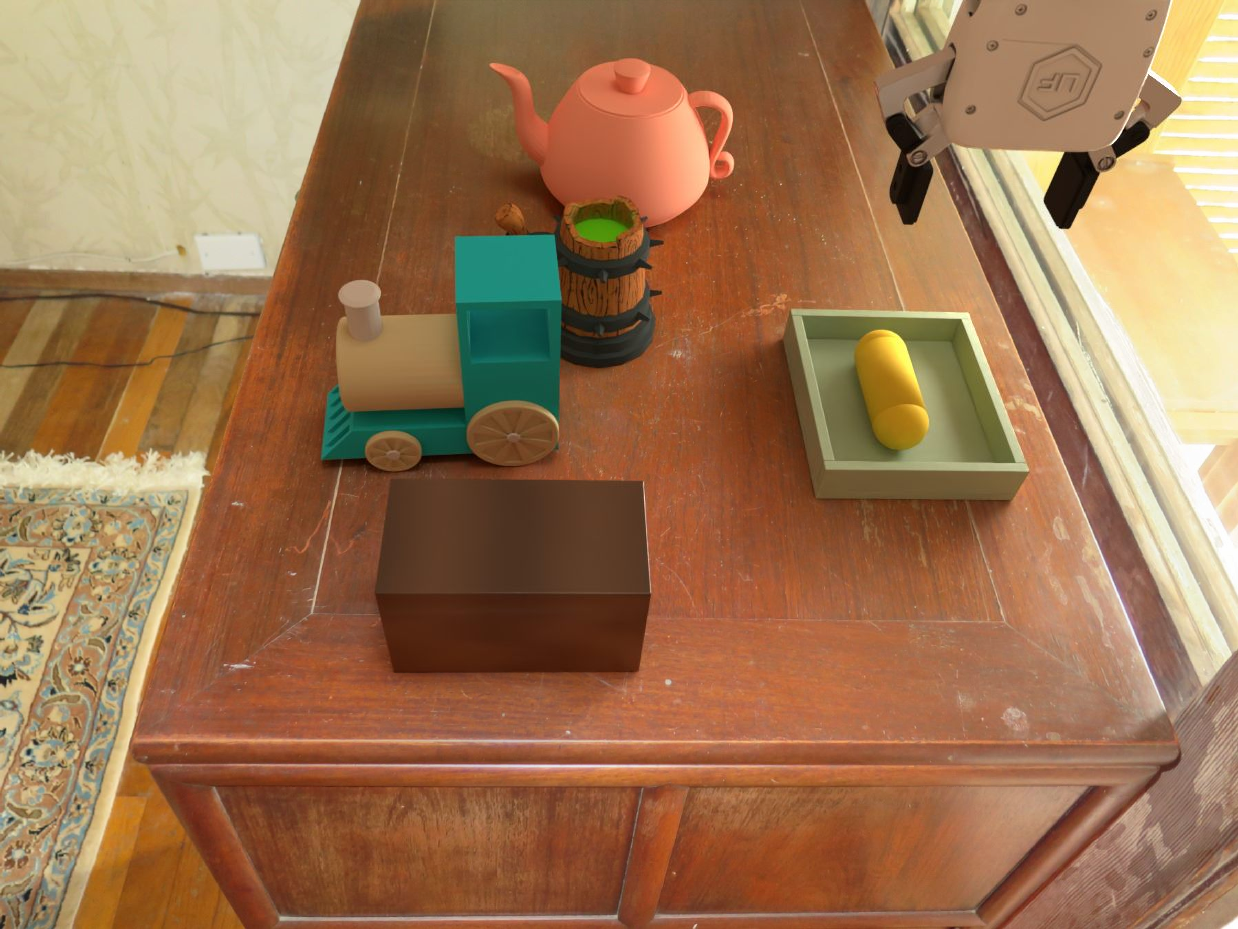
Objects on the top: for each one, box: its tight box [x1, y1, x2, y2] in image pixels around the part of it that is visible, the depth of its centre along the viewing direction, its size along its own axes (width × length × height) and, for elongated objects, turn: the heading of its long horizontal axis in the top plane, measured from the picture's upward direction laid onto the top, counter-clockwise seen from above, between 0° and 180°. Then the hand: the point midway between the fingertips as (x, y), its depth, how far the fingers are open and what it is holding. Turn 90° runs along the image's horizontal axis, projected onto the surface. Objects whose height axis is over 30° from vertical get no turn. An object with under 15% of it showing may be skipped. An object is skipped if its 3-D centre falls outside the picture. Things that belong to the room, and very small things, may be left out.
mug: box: [493, 195, 665, 369], centre depth 76 cm, size 13×10×12 cm
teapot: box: [489, 57, 735, 229], centre depth 88 cm, size 22×16×12 cm
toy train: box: [320, 235, 562, 472], centre depth 67 cm, size 8×17×15 cm, turn 96°
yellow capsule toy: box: [854, 330, 929, 450], centre depth 74 cm, size 11×4×4 cm, turn 2°
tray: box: [782, 308, 1030, 501], centre depth 75 cm, size 17×15×3 cm
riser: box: [374, 477, 652, 673], centre depth 60 cm, size 15×8×9 cm, turn 92°
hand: (979, 213), depth 61 cm, fingers open, 9 cm apart
